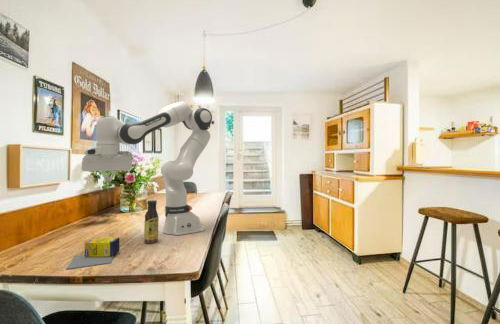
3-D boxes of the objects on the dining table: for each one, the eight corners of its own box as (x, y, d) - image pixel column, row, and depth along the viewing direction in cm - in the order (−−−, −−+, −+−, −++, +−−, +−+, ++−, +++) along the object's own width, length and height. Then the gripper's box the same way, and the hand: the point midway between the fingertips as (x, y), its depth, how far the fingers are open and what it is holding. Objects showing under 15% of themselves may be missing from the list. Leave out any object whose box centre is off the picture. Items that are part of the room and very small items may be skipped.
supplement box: (112, 241, 96) (84, 242, 95) (112, 256, 96) (84, 257, 95) (119, 237, 102) (93, 237, 101) (119, 251, 102) (93, 251, 101)
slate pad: (114, 252, 102) (114, 251, 102) (110, 263, 91) (110, 262, 91) (75, 257, 96) (75, 256, 96) (65, 269, 85) (65, 268, 85)
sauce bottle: (149, 245, 110) (149, 202, 110) (141, 242, 114) (141, 200, 114) (161, 240, 116) (161, 200, 116) (153, 238, 119) (153, 199, 119)
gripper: (132, 151, 119) (133, 178, 119) (83, 151, 111) (84, 180, 111) (131, 150, 113) (132, 179, 114) (80, 150, 105) (80, 182, 105)
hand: (108, 180), depth 112 cm, fingers closed
